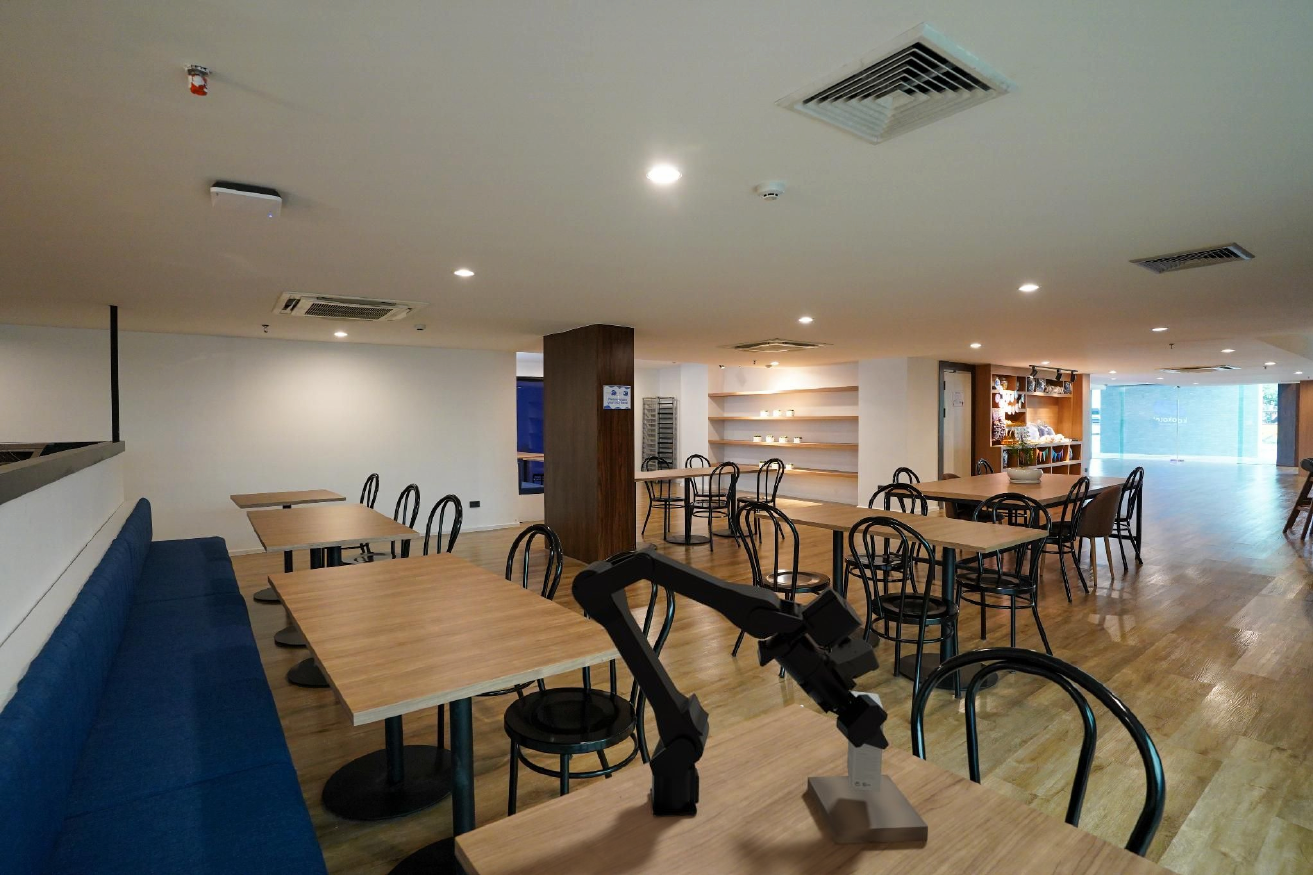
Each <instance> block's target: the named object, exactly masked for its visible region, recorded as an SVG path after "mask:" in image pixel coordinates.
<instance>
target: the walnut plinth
mask: <svg viewBox="0 0 1313 875" xmlns="http://www.w3.org/2000/svg"><path fill="white" fill-rule="evenodd" d="M806 790H807V791H808V794H809V795H810V797H811V799H812V801H813V802H814V805H815V806H816V808H817V810H818V812H819V814H820V816H821V818H822V820H823V822H824V823H825V825H826V827H827V828H828V831H829V833H830V834H831V836H832V838H833V839H834V840H833V841H834V842H835V844H837V845H838V844H839V845H842V844H844V845H845V844H865V843H868V844H870V843H895V842H898V843H899V842H915V841H916V842H918V841H928V838H929V835H928V833H929V826H928V824H927V822H925V820H924V819H923V818H922V817H921V815H920V814H919V813H918V812H917V810H916V809H915V807H914V806H913V805H912V804H911V802H910V801H909V800H908V799H907V797H906V796H905V795H904V793H903V792H902V791H901V790H900V788H899V787H898V786H897V785H896V782H894V780H892V778H891V777H890V775H889V774H881V788H880V791H879V792H878V791H870V790H862V789H854V788H851V786H850V780H849V775H834V776H833V775H832V776H831V775H830V776H829V775H828V776H827V775H826V776H807V788H806Z"/></svg>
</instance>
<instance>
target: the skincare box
mask: <svg viewBox="0 0 1313 875" xmlns="http://www.w3.org/2000/svg"><path fill="white" fill-rule="evenodd" d="M850 692H851V693H852V694H853V695H854V696H855V697H857V696H858V695H863V694H868V695H869V696H870V697H871V698H872V699H873V700H874V701H875V702H876V703H877V704H879V705H880V706H881V707H882V709H883V710H884V707H883V705H882V704H883V703H882V702H881V699H880V696H879V693H873V692H871V693H870V692H862V691H853V690H850ZM850 703H851V702H850ZM884 711H885V710H884ZM884 724H885V722H884V723H883V724H882V725H881V726H880V728H881V730H882V732H883V733H884ZM846 758H847V760H846V768H847V774H848V775H847V776H849V780H850V786H851V788H854V789H862V790H870V791H878V792H879V791H880V788H881V775H882V764H883V760H882V759H883V749H880V748H877V747H873V746H870V745H867V744H863V745H862V746H861V747H858V748H855V747H854V745H853V744H852V743H851V742H850V741H849V740H848V739H847V756H846Z"/></svg>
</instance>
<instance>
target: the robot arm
mask: <svg viewBox="0 0 1313 875" xmlns="http://www.w3.org/2000/svg"><path fill="white" fill-rule="evenodd" d="M642 580H645V581H648V582H651V583H652V584H654V585H657V586H659V587H662V588H664V589H667V590H669V591H672V592H674V593H675V594H678V595H679V596H682V597H685V598H687V599H689V600H692V601H694V602H696V603H699V604H701V605H703V606H706V607H708V608H710V609H712V610H715V611H716V612H718V613H719V614H721V615H722V616H723V617H724V618H726V620H728V621H729V622H730V623H731V624H732V625H734V626H735V627H737V628H738V629H739V630H741V631H743V632H744V633H746V634H747V635H749V636H750V637H752V638H754V639H757V641H756V642H757V647H758V648H757V650H756V651H757V652H756V654H757V658H758V663H759V666H760V667H762V668H763V667H765V666H767V665H768V664H769V663H771V661H773V660H775V662H776V663H777V664H778V665H780V667H781V668H782V669H783V670H784V671H785V672H786V673H787V674H788V675H789V676H790V677H791V678H792V679H793V680H794V681H795V682H796V684H797V685H798V687H799V688H801V690H803V692H804V693H805V694H806V695H807V696H808V697H809V698H810V699H812V700H813V701H814V703H815V704H817V706H818V707H820V709H821V710H822V711H823V712H824V713H825V714H828V713H829V712H830V713H833V714H834V715H837V717H836V724H835V725H836V729H838V731H839V732H840V733H841V734H842V736H844V737H845V738H846V740H847V741H848V740H849V741H850V742H851V743H852V744H853V745H854V747H855V748H858V747H861V746H862V745H863V744H867V745H870V746H873V747H877V748H880V749H882V751H883V750H886V749H887V748H888V747H889V745H890V743H889V741H888V739H887V738H886V736H885V734H884V731H883V732H882V730H881V728H880V726H881V725H882V724H883V723H884V724H885V722H886V721H887V720H888V716H889V713H887V711H886V710H883V709H884V708H883V709H882V707H883V706H882V707H881V706H880V705H879V704H877V703H876V702H875V701H874V700H873V699H872V698H871V697H870V696H869V695H868V694H863V695H858V696H857V697H855V696H854V695H853V694H852V693H851V691H853V690H854V689H855V688H856V687H857V686H858V684H857V682H856V681H855V680H856V679H858V678H861V677H862V676H865V675H867V674H869V673H870V672H875V671H877V670H878V669H879V668H880V663H879V661H878V658H877V656H876V652H875V651H874V650H875V649H874V648H873V646H872V645H871V644H870V643H868V642H867V641H865V640H864V639H863V638H861V637H856V636H855V635H854V636H852V639H851V638H850V636H851V635H852V634H853V633H854V632H856V631H857V630H858V629H860V628H861V627H863V625H864V622H863V620H862V619H861V617H860V616H859V614H858V612H857V611H856V610H855V609H854V607H853V606H852V605H851V604H850V602H849V601H848V600H847V598H844V597H842V596H841V594H839V593H838V592H837V591H835V590H834V588H832V586H830V585H829V586H827V587H825V588H824V589H823V590H822V591H821V592H820V593H819V594H818V595H817V596H816V597H815V598H814V599H812V600H811V601H810V602H808V603H807V604H805V606H804V604H803V603H799V602H798V601H797V602H796V601H792V600H789V599H785V598H782V597H780V596H779V595H778V594H777V593H776V592H775V591H773V590H771V589H769V588H764V587H760V586H757V585H753V584H752V585H751V584H748V583H735V582H731V581H726V580H724V579H721V578H719V577H716V576H714V575H712V574H710V573H708V572H705V571H702V570H700V569H698V568H695V567H693V566H690V565H689V564H686V563H684V562H681V561H679V560H676V559H674V558H672V557H670V556H667V555H665V554H662V553H660V552H658V551H657V550H656V549H654V548H652V547H642V548H641V549H639V550H638V551H636V552H634V553H631V554H627V555H624V556H622V557H619V558H617V559H614V560H612V561H609V562H608V561H605V560H597V561H594V562H592V563H590V564H588V565H587V566H586V567H585V568H584V569H582V570H581V571H579V572H578V573H577V574H576V575H575V576H574V578H573V581H572V585H571V588H570V591H571V595H572V597H573V599H574V601H575V602H576V603H577V605H578V606H579V607H580V608H581V609H582V610H583V611H584V612H585V614H586V615H587V616H588V617H589V618H590V619H592V620H593V621H594V622H596V623H597V624H598V625H599V626H601V627H603V629H604V630H605V631H606V633H607V635H608V637H609V638H610V640H611V641H612V643H613V645H614V647H615V648H616V649H617V651H618V652H617V653H618V654H619V655H620V656H621V658H622V660H623V662H624V663H625V665H626V666H627V669H628V670H629V672H630V673H631V675H632V677H633V679H634V680H635V682H636V683H637V685H638V687H639V688H640V690H641V691H642V693H643V696H645V699H646V700H647V703H648V704H649V706H650V707H651V708H652V711H653V713H654V719H655V724H656V728H657V732H658V736H659V738H658V741H657V743H656V746H655V748H654V751H653V753H652V754H651V755H652V756H651V758H650V759H649V763H648V765H649V767H650V771H651V788H650V789H649V790H650V791H649V794H650V801H651V810H652V815H653V816H655V817H668V816H669V817H671V816H695V815H697V814H698V808H697V804H699V801H700V775H699V770H698V768H697V767H696V763H698V762H699V761H700V760H701V758H702V757H703V754H704V752H705V751H704V750H705V747H706V744H707V740H708V736H709V732H710V723H709V720H708V719H709V715H710V714H709V712H707V711H706V710H705V709H704V707H703V706H702V704H701V703H700V701H699V697H698V696H697V694H696V693H692V694H691V695H690V696H689V697H687V696H686V695H685V694H683V693H682V692H681V691H679V690H678V689H677V687H676V686H675V684H674V682H673V681H672V680H673V679H672V678H671V676H670V675H669V674H668V672H667V671H666V669H665V667H664V665H663V663H662V662H661V660H660V658H659V657H658V655H657V653H656V651H655V650H654V649H653V647H652V645H651V644H650V641H649V640H648V639H647V637H646V635H645V633H644V632H643V630H642V629H641V627H640V626H639V624H638V622H637V620H636V618H635V617H634V615H633V614H632V612H631V609H630V607H629V601H628V596H627V593H626V589H625V588H627V587H629V586H631V585H634V584H635V583H637V582H640V581H642ZM818 646H819V647H818ZM822 647H823V648H824V649H827V648H830V649H831V650H832V651H830V652H829V653H826V652H825V651H824V650H823V649H822ZM820 648H821V649H820ZM850 702H851V703H850ZM884 724H883V725H884Z"/></svg>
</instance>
